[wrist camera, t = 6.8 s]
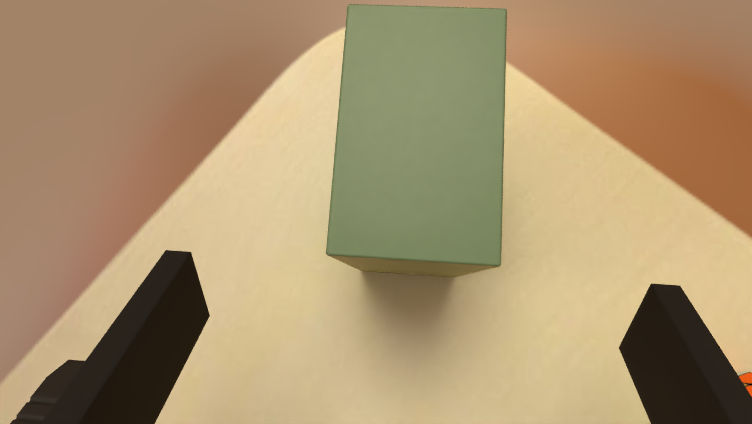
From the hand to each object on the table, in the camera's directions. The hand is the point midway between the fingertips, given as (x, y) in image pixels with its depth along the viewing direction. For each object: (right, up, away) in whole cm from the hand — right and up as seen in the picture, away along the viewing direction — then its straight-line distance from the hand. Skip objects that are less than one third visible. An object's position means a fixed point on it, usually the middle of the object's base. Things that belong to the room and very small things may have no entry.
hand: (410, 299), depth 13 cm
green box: (+1, +3, +11) cm, 11 cm away
